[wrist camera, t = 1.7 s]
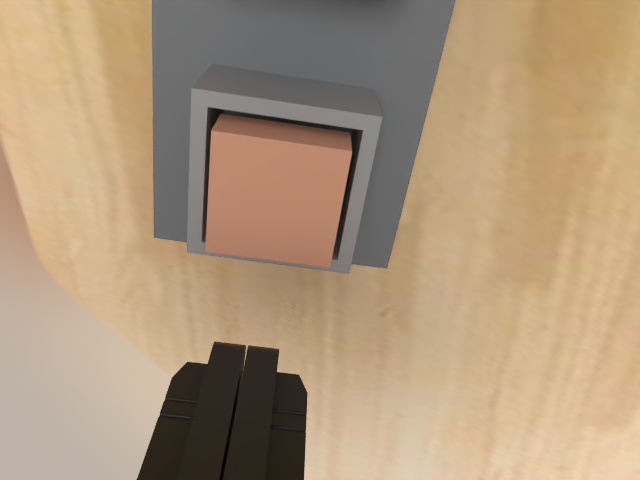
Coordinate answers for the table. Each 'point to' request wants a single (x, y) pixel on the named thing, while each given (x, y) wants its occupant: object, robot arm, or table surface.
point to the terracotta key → (275, 190)
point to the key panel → (295, 101)
